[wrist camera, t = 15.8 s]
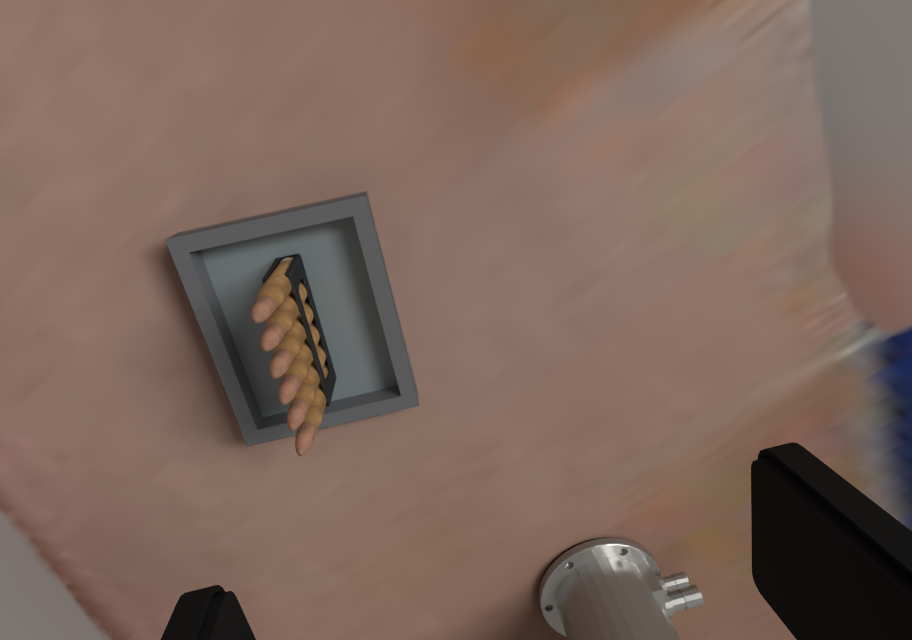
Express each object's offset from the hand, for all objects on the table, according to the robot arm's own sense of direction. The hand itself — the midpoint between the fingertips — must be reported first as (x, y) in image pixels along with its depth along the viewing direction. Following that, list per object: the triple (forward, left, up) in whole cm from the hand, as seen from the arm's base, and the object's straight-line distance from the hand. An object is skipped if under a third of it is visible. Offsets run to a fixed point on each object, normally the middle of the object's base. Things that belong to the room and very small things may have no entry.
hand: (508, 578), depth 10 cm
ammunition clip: (+10, +5, -34) cm, 36 cm away
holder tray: (+10, +5, -34) cm, 36 cm away
